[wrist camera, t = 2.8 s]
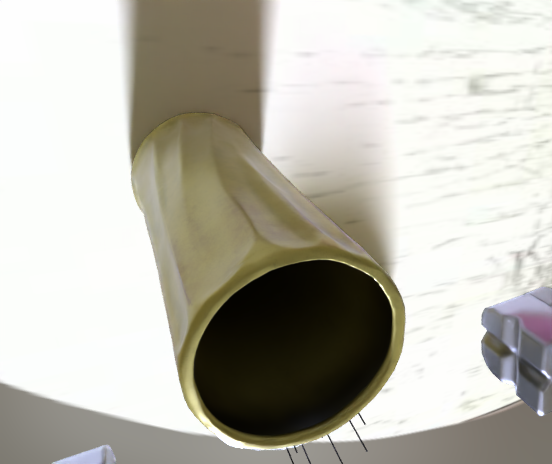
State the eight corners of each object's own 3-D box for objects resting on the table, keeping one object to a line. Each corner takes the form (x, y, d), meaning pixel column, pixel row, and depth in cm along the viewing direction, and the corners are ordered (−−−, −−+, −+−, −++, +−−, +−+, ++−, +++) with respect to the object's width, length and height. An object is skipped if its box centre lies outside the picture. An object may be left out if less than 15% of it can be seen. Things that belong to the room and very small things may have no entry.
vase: (282, 149, 24) (472, 286, 11) (223, 254, 25) (336, 484, 12) (168, 86, 21) (248, 174, 9) (108, 207, 22) (104, 440, 10)
